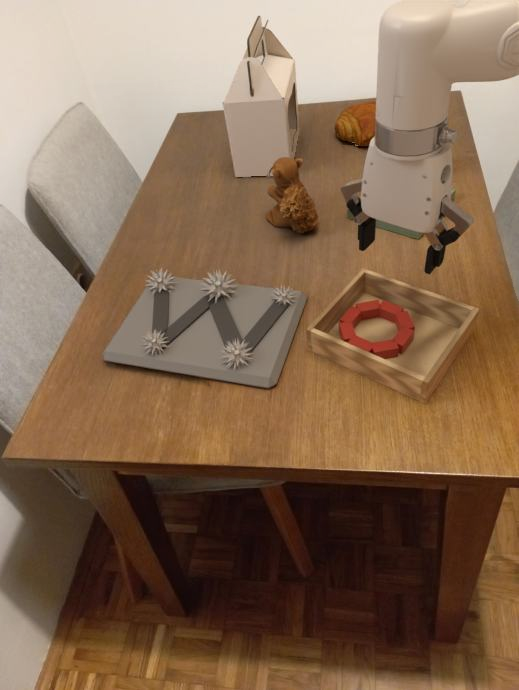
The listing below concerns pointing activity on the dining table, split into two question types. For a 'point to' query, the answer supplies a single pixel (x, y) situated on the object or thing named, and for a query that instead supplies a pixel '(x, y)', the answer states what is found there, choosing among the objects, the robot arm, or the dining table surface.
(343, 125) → the croissant
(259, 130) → the gable box
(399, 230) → the tray
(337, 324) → the crate
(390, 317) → the ring
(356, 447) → the dining table surface
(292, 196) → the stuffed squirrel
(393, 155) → the robot arm
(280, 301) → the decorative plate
